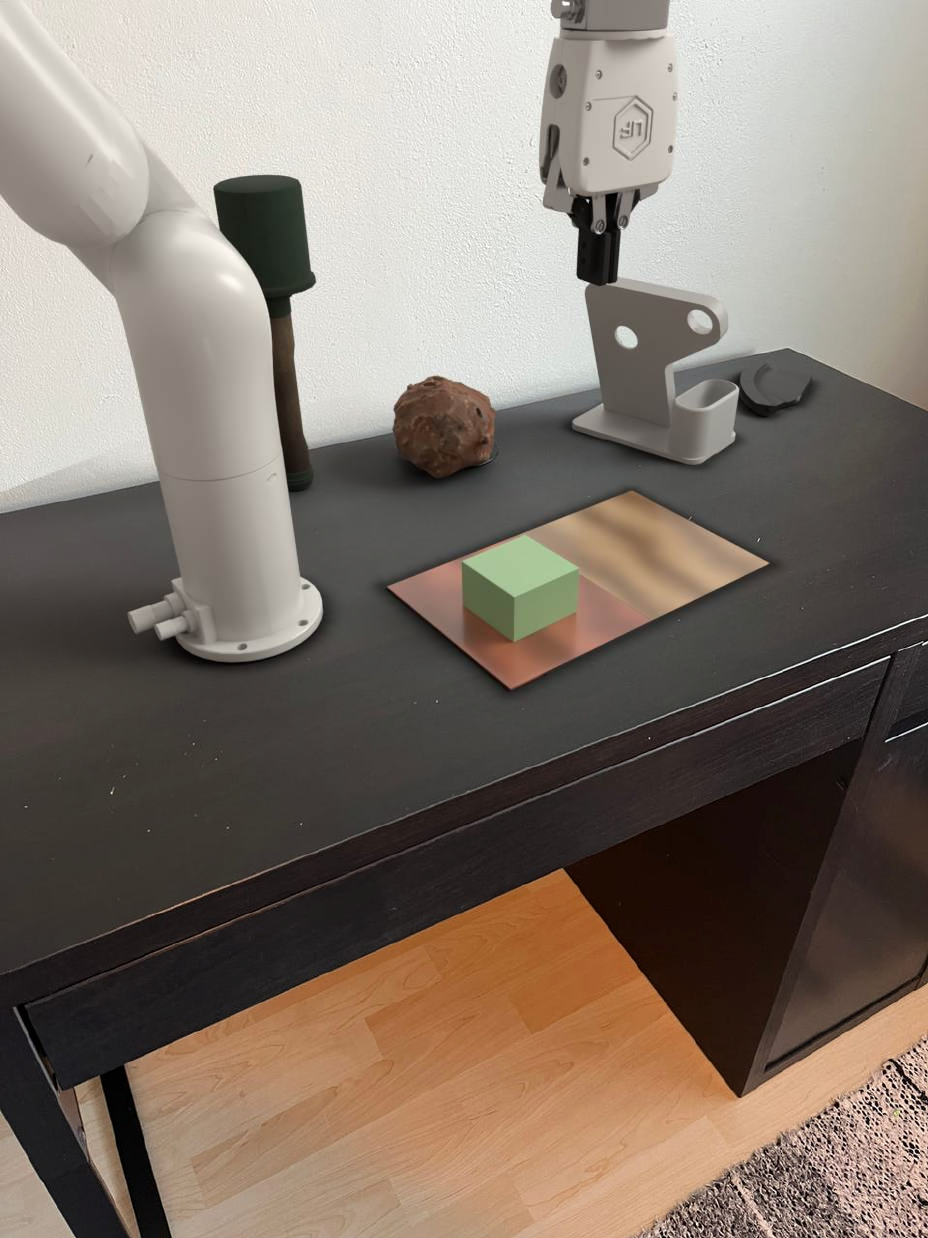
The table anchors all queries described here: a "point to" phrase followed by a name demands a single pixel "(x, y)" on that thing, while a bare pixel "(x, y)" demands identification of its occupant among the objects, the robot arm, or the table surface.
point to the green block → (520, 587)
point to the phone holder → (656, 372)
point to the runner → (588, 584)
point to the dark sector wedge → (771, 388)
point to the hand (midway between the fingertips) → (596, 280)
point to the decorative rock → (443, 426)
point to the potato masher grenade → (274, 286)
